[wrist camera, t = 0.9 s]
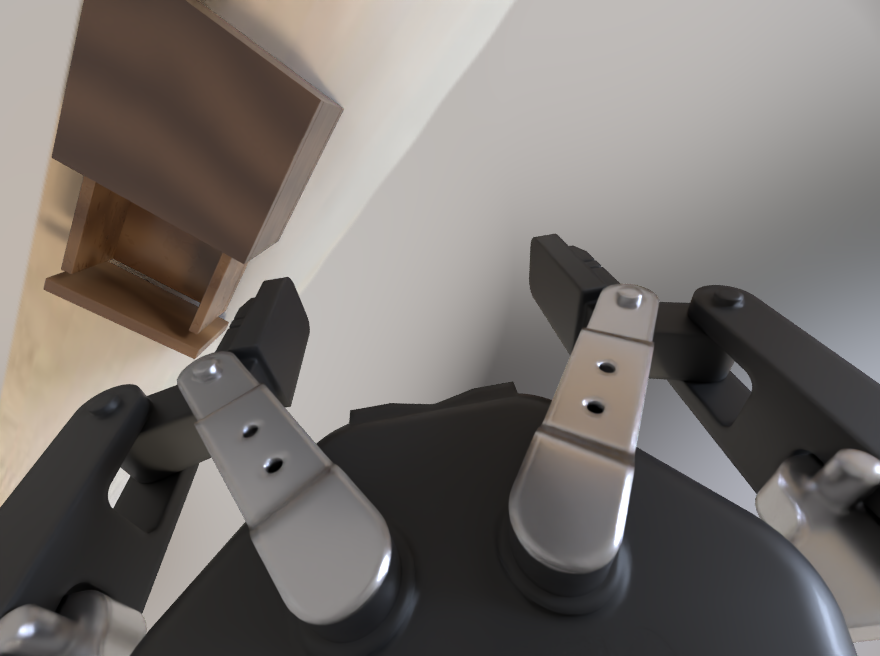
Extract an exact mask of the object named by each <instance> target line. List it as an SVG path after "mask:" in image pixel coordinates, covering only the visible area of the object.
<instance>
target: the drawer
mask: <svg viewBox="0 0 880 656" xmlns="http://www.w3.org/2000/svg"><path fill="white" fill-rule="evenodd" d="M111 259H115V260H117V261H119V262H121V263H123V264H125V265H127V266H129V267H131V268H133V269H135V270H137V271H139V272H141V273H143V274H145V275H147V276H149V277H151V278H153V279H155V280H156V281H158V282H160V283H162V284H164V285H166V286H168V287H170V288H172V289H174V290H176V291H178V292H180V293H182V294H184V295H186V296H188V297H190V298H192V299H194V300H196V301H198V302H200V305H199V307H198V306H196V305H194V304H192V303H190V302H188V301H186V300H184V299H182V298H180V297H178V296H176V295H174V294H172V293H170V292H168V291H166V290H164V289H162V288H160V287H158V286H156V285H154V284H152V283H150V282H148V281H146V280H144V279H142V278H140V277H138V276H136V275H134V274H132V273H130V272H128V271H126V270H124V269H122V268H120V267H118V266H116V265H114V264H112V263H110V262H108V260H111ZM248 262H249V261H248ZM248 262H247V263H245V264H242V263H240V262H239V261H237V260H235V259H233V258H231V257H230V256H228V255H226V254H224V253H222V252H221V251H219V250H217V249H215V248H213V247H212V246H210V245H208V244H206V243H204V242H203V241H201V240H199V239H197V238H195V237H194V236H192V235H190V234H188V233H186V232H185V231H183V230H181V229H179V228H177V227H176V226H174V225H172V224H170V223H168V222H167V221H165V220H163V219H161V218H159V217H158V216H156V215H154V214H152V213H151V212H149V211H147V210H145V209H143V208H142V207H140V206H138V205H136V204H134V203H133V202H131V201H129V200H127V199H125V198H124V197H122V196H120V195H118V194H116V193H115V192H113V191H111V190H109V189H107V188H106V187H104V186H102V185H100V184H98V183H97V182H95V181H93V180H91V179H89V178H88V177H86V176H84V177H83V181H82V186H81V190H80V194H79V198H78V202H77V206H76V210H75V214H74V218H73V222H72V226H71V230H70V235H69V239H68V243H67V247H66V251H65V255H64V259H63V263H62V267H61V270H64V271H65V272H62V273H60V274H57V275H54V276H51V277H49V278H46V281H45V285H44V290H46V291H48V292H50V293H52V294H54V295H57V296H59V297H61V298H63V299H65V300H67V301H70V302H72V303H74V304H76V305H78V306H80V307H83V308H85V309H87V310H89V311H91V312H93V313H96V314H98V315H100V316H102V317H104V318H106V319H109V320H111V321H113V322H115V323H117V324H119V325H122V326H124V327H126V328H128V329H130V330H132V331H135V332H137V333H139V334H141V335H143V336H145V337H148V338H150V339H152V340H154V341H156V342H158V343H161V344H163V345H165V346H167V347H169V348H171V349H174V350H176V351H178V352H180V353H182V354H185V355H187V356H189V357H191V358H193V359H195V358H196V357H198V356H199V355H200V354H201V353H202V352H203V351H204V350H205V349H206V348H207V347H208V346H209V345H210V344H211V343H212V342H213V341H214V340H215V339H217V338H218V337H219V336H220V335H221V334H222V333H223V332H224V331H225V330H226V328H227V326H228V323H229V322H227V321H225V320H223V319H222V318H220V317H218V316H220V315H221V314H222V313H223V312H224V311H226V309H227V307H228V304H229V302H230V300H231V298H232V296H233V294H234V292H235V290H236V288H237V285H238V283H239V281H240V279H241V277H242V275H243V273H244V271H245V268H246V266H247V264H248Z"/></svg>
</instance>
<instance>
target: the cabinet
mask: <svg viewBox="0 0 880 656" xmlns="http://www.w3.org/2000/svg"><path fill="white" fill-rule="evenodd" d="M343 110H344V109H343V108H342V107H341V106H339V105H338V104H337V103H335V102H334V101H333V100H331V99H330V98H328V97H327V96H326V95H324V94H323V93H322V92H320V91H319V90H318V89H316V88H315V87H314V86H312V85H311V84H310V83H308V82H307V81H306V80H304V79H303V78H302V77H300V76H299V75H297V74H296V73H295V72H293V71H292V70H291V69H289V68H288V67H287V66H285V65H284V64H283V63H281V62H280V61H279V60H277V59H276V58H275V57H273V56H272V55H271V54H269V53H268V52H267V51H265V50H264V49H262V48H261V47H260V46H258V45H257V44H256V43H254V42H253V41H252V40H250V39H249V38H248V37H246V36H245V35H244V34H242V33H241V32H240V31H238V30H237V29H236V28H234V27H233V26H231V25H230V24H229V23H227V22H226V21H225V20H223V19H222V18H221V17H219V16H218V15H217V14H215V13H214V12H213V11H211V10H210V9H209V8H207V7H206V6H205V5H203V4H202V3H200V2H199V1H198V0H84V3H83V8H82V12H81V17H80V22H79V27H78V32H77V37H76V42H75V46H74V51H73V56H72V61H71V66H70V71H69V76H68V81H67V85H66V90H65V95H64V100H63V105H62V110H61V115H60V120H59V124H58V129H57V134H56V139H55V144H54V149H53V154H52V158H53V159H55V160H57V161H59V162H61V163H62V164H64V165H66V166H68V167H70V168H71V169H73V170H75V171H77V172H79V173H80V174H82V175H84V176H86V177H88V178H89V179H91V180H93V181H95V182H97V183H98V184H100V185H102V186H104V187H106V188H107V189H109V190H111V191H113V192H115V193H116V194H118V195H120V196H122V197H124V198H125V199H127V200H129V201H131V202H133V203H134V204H136V205H138V206H140V207H142V208H143V209H145V210H147V211H149V212H151V213H152V214H154V215H156V216H158V217H159V218H161V219H163V220H165V221H167V222H168V223H170V224H172V225H174V226H176V227H177V228H179V229H181V230H183V231H185V232H186V233H188V234H190V235H192V236H194V237H195V238H197V239H199V240H201V241H203V242H204V243H206V244H208V245H210V246H212V247H213V248H215V249H217V250H219V251H221V252H222V253H224V254H226V255H228V256H230V257H231V258H233V259H235V260H237V261H239V262H240V263H242V264H245V263H247V262H248V261H249V260H251V259H252V258H254V257H255V256H257V255H258V254H260V253H261V252H263V251H264V250H266V249H267V248H269V247H270V246H272V245H273V244H275V243H276V242H278V241H279V239H280V237H281V235H282V233H283V231H284V229H285V227H286V225H287V223H288V221H289V219H290V217H291V215H292V213H293V211H294V209H295V207H296V205H297V203H298V201H299V198H300V196H301V194H302V192H303V190H304V188H305V186H306V184H307V182H308V180H309V178H310V176H311V174H312V172H313V170H314V168H315V166H316V164H317V162H318V160H319V158H320V156H321V154H322V152H323V150H324V148H325V146H326V144H327V142H328V140H329V138H330V136H331V134H332V132H333V130H334V128H335V126H336V124H337V122H338V120H339V118H340V116H341V114H342V112H343Z"/></svg>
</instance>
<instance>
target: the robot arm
mask: <svg viewBox="0 0 880 656" xmlns="http://www.w3.org/2000/svg"><path fill="white" fill-rule="evenodd" d="M529 272H530V273H529V284H530V290H531V293H532V296H533V298H534V299H535V301H536V302H537V304H538V306H539V307H540V309H541V310H542V312H543V314H544V315H545V316H546V318H547V320H548V321H549V323H550V324H551V326H552V328H553V329H554V331H555V332H556V334H557V336H558V337H559V339H560V340H561V342H562V344H563V345H564V347H565V348H566V350H567V351H568V353H569V354H570V358H569V361H568V363H567V366H566V368H565V371H564V373H563V375H562V378H561V380H560V383H559V385H558V387H557V390H556V392H555V395H554V397H553V400H550V399H547V398H544V397H540V396H536V395H530V394H519V393H517V390H516V388H515V385H514V383H513V382H508V383H502V384H496V385H491V386H485V387H480V388H474V389H471V390H469V391H466V392H464V393H461V394H459V395H456V396H454V397H451V398H449V399H446V400H444V401H441V402H439V403H436V404H397V403H389V404H384V405H378V406H373V407H367V408H362V409H356V410H350V421H349V424H347V425H345V426H343V427H341V428H339V429H337V430H335V431H333V432H332V433H330V434H328V435H327V436H325V437H324V438H323V439H322V440H320V441H319V442H318V443H317V444H316V443H315V442H314V441H313V440H312V439H311V437H310V436H309V435H308V434H307V433H306V432H305V430H304V429H303V428H302V427H301V426H300V425H299V424H298V422H297V421H296V420H295V419H294V418H293V417H292V415H291V414H290V413H289V412H288V411H287V410H286V409H285V407H290V406H291V404H292V400H293V396H294V392H295V388H296V384H297V380H298V376H299V372H300V369H301V365H302V361H303V357H304V353H305V349H306V345H307V341H308V337H309V333H310V327H309V321H308V317H307V315H306V312H305V310H304V307H303V305H302V303H301V300H300V298H299V295H298V293H297V291H296V288H295V286H294V283H293V282H292V280H291V279H290V278H289V277H285V278H279V279H273V280H266V281H264V282H263V284H262V285H261V287H260V289H259V291H258V293H257V295H256V297H255V298H251V299H250V300H248V301H247V302H246V303H245V304H244V305H243V306H242V307H240V308H239V310H238V312H237V314H236V316H235V317H234V320H233V321H232V323H231V325H230V326H229V327H230V329H228V330H227V332H226V334H225V335H224V337H223V339H222V341H221V342H220V344H219V346H218V348H217V350H216V351H215V353H211V354H208V355H205V356H203V357H201V358H199V359H197V360H195V361H194V362H192V363H191V364H189V365H188V366H187V367H186V368H185V369H184V370H183V371H182V372H181V373H180V375H179V377H178V379H177V385H176V386H173V387H170V388H168V389H165V390H162V391H160V392H157V393H154V394H152V395H149V396H146V395H145V394H144V393H143V391H142V390H141V389H140V388H139V387H138V386H136V385H132V384H126V385H120V386H116V387H113V388H110V389H108V390H106V391H103V392H102V393H100V394H98V395H96V396H94V397H93V398H91V399H90V400H88V401H87V402H86V403H84V404H83V405H82V406H81V407H80V408H79V409H78V410H77V411H76V412H75V413H74V415H73V416H72V417H71V418H70V420H69V421H68V422H67V424H66V425H65V426H64V427H63V429H62V430H61V431H60V432H59V434H58V435H57V436H56V437H55V439H54V440H53V441H52V443H51V444H50V445H49V446H48V448H47V449H46V450H45V451H44V453H43V454H42V455H41V457H40V458H39V459H38V460H37V462H36V463H35V464H34V465H33V467H32V468H31V469H30V471H29V472H28V473H27V474H26V476H25V477H24V478H23V479H22V481H21V482H20V483H19V484H18V486H17V487H16V488H15V490H14V491H13V492H12V493H11V495H10V496H9V497H8V498H7V500H6V501H5V502H4V504H3V505H2V506H1V507H0V656H857V653H856V651H855V648H854V644H853V643H856V642H864V641H872V640H880V384H879V383H877V382H876V381H874V380H873V379H872V378H870V377H869V376H867V375H866V374H865V373H863V372H862V371H860V370H859V369H857V368H856V367H855V366H853V365H852V364H850V363H849V362H847V361H846V360H845V359H843V358H842V357H840V356H839V355H838V354H836V353H835V352H833V351H832V350H831V349H829V348H828V347H826V346H825V345H823V344H822V343H821V342H819V341H817V340H816V339H815V338H814V337H812V336H811V335H809V334H808V333H806V332H805V331H803V330H802V329H801V328H799V327H798V326H796V325H795V324H794V323H792V322H791V321H789V320H788V319H786V318H785V317H784V316H782V315H781V314H779V313H778V312H776V311H775V310H774V309H772V308H771V307H769V306H768V305H767V304H765V303H764V302H762V301H761V300H759V299H758V298H757V297H755V296H754V295H752V294H750V293H748V292H746V291H744V290H741V289H738V288H734V287H730V286H723V285H722V286H721V285H709V286H704V287H701V288H699V289H697V290H696V291H695V292H694V294H693V297H692V300H691V302H690V303H672V302H659V299H658V297H657V295H656V294H655V293H654V292H652V291H651V290H649V289H646V288H644V287H641V286H638V285H633V284H620V283H619V282H618V281H617V280H616V279H615V278H614V277H613V276H612V275H611V274H610V273H609V272H608V271H607V270H605V269H604V268H603V267H601V265H600V264H599V263H598V262H597V261H595V260H594V258H593V257H592V256H591V255H590V254H589V253H588V252H587V251H584V250H582V249H580V248H578V247H575V246H568V245H567V244H566V243H565V242H564V241H563V240H562V239H561V238H560V237H559V236H558V235H557V234H551V235H545V236H538V237H533V239H532V240H531V247H530V271H529ZM734 361H735V362H736V363H738V364H739V365H740V366H741V367H742V368H743V369H744V370H745V371H746V372H747V374H748V375H749V377H750V379H751V382H752V392H751V391H750V390H749V389H748V388H747V387H746V386H745V385H744V384H743V383H742V382H741V381H740V380H739V379H738V378H737V377H736V376H735V375H734V374H733V373H732V372H731V371H730V369H731V367H732V365H733V363H734ZM648 378H653V379H667V380H668V382H669V383H670V385H671V386H672V387H673V388H674V390H675V391H676V392H677V393H678V395H679V396H680V397H681V399H682V400H683V401H684V402H685V404H686V405H687V406H688V407H689V408H690V410H691V411H692V412H693V414H694V415H695V416H696V418H697V419H698V420H699V421H700V423H701V424H702V425H703V426H704V428H705V429H706V430H707V431H708V433H709V434H710V435H711V437H712V438H713V439H714V440H715V442H716V443H717V444H718V445H719V447H720V448H721V449H722V450H723V452H724V453H725V454H726V456H727V457H728V458H729V459H730V461H731V462H732V463H733V465H734V466H735V467H736V468H737V469H738V471H739V472H740V473H741V475H742V476H743V477H744V478H745V480H746V481H747V482H748V484H749V485H750V486H751V487H752V489H753V490H754V491H755V492H756V494H757V495H756V498H755V506H756V510H757V513H758V515H759V517H760V518H758V517H756V516H755V515H753V514H752V513H750V512H748V511H747V510H745V509H743V508H741V507H740V506H738V505H736V504H734V503H733V502H731V501H729V500H728V499H726V498H724V497H722V496H720V495H719V494H717V493H715V492H713V491H712V490H710V489H708V488H707V487H705V486H703V485H701V484H700V483H698V482H696V481H695V480H693V479H691V478H689V477H688V476H686V475H684V474H682V473H681V472H679V471H677V470H675V469H674V468H672V467H670V466H669V465H667V464H665V463H663V462H662V461H660V460H658V459H656V458H654V457H653V456H651V455H649V454H648V453H646V452H644V451H642V450H641V449H639V448H637V447H636V444H637V439H638V434H639V428H640V422H641V417H642V411H643V405H644V400H645V394H646V389H647V383H648ZM211 457H212V459H213V461H214V463H215V465H216V467H217V468H218V470H219V472H220V474H221V476H222V477H223V480H224V482H225V483H226V485H227V487H228V489H229V491H230V493H231V495H232V497H233V498H234V500H235V502H236V504H237V506H238V508H239V510H240V512H241V513H242V515H243V517H244V519H245V521H246V522H245V523H244V524H243V525H242V526H241V527H240V529H239V530H238V531H237V532H236V533H235V534H234V535H233V536H232V538H231V539H230V540H229V541H228V542H227V543H226V544H225V546H224V547H223V548H222V549H221V550H220V551H219V552H218V553H217V555H216V556H215V557H214V558H213V559H212V560H211V561H210V562H209V564H208V565H207V566H206V567H205V568H204V569H203V570H202V571H201V573H200V574H199V575H198V576H197V577H196V578H195V579H194V581H193V582H192V583H191V584H190V585H189V586H188V587H187V588H186V590H185V591H184V592H183V593H182V594H181V595H180V596H179V597H178V599H177V600H176V601H175V602H174V603H173V604H172V605H171V606H170V608H169V609H168V610H167V611H166V612H165V613H164V614H163V615H162V617H161V618H160V619H159V620H158V621H157V622H156V623H155V624H154V626H153V627H152V628H151V629H150V630H149V631H148V633H147V634H146V631H147V627H146V621H145V618H144V617H143V615H142V613H143V610H144V607H145V605H146V602H147V599H148V597H149V594H150V592H151V589H152V586H153V584H154V581H155V579H156V576H157V573H158V571H159V568H160V565H161V563H162V560H163V557H164V555H165V552H166V550H167V547H168V544H169V542H170V539H171V537H172V534H173V531H174V529H175V526H176V523H177V521H178V518H179V516H180V513H181V510H182V508H183V505H184V502H185V500H186V497H187V494H188V492H189V489H190V487H191V484H192V481H193V479H194V476H195V473H196V471H197V468H198V465H199V463H200V462H202V461H204V460H207V459H209V458H211ZM120 467H121V468H122V469H123V470H125V471H126V472H127V473H128V474H129V475H130V478H129V480H128V482H127V484H126V486H125V487H124V489H123V491H122V493H121V495H120V497H119V499H118V500H117V502H116V504H115V506H114V508H112V507H111V506H110V504H109V501H108V490H109V487H110V484H111V483H112V481H113V479H114V477H115V476H116V474H117V472H118V470H119V469H120Z"/></svg>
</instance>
